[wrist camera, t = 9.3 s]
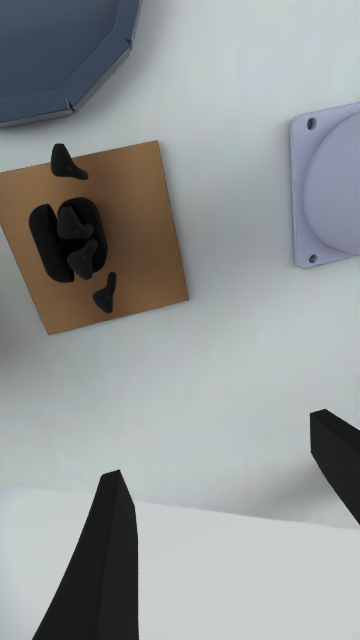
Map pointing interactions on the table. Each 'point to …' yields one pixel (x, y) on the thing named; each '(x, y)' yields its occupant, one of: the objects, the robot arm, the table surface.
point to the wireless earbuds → (72, 235)
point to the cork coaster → (119, 228)
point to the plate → (59, 54)
